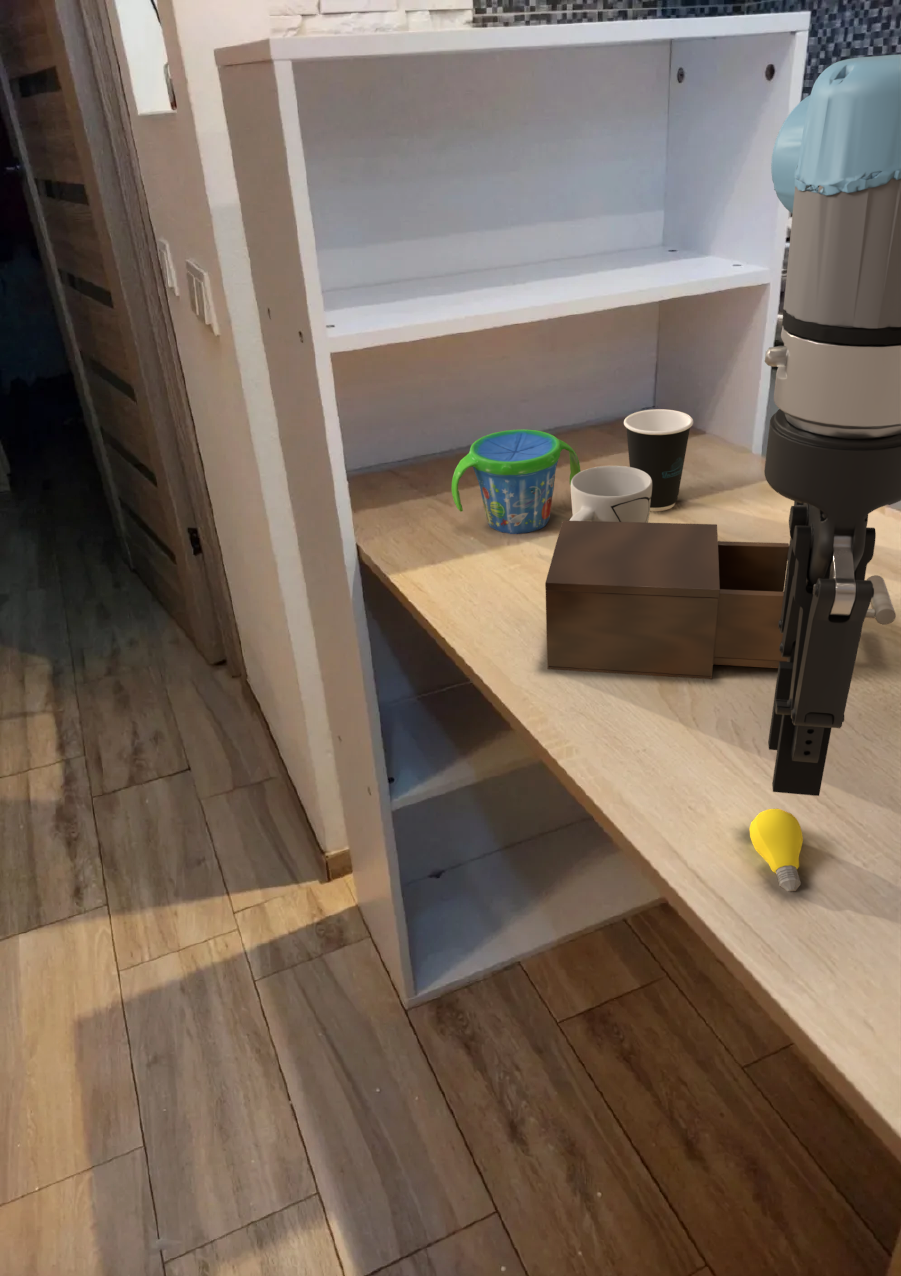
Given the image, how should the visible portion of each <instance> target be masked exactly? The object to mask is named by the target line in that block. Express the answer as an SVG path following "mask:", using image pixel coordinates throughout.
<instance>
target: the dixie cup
mask: <svg viewBox="0 0 901 1276" xmlns="http://www.w3.org/2000/svg"><path fill="white" fill-rule="evenodd" d="M623 425H624V427H625V428H626V438H627V439H626V441H627V452H628V463H629V467H632V468H636V469H639V470H642V471H644V472H645V473H647V474H648V475H649V476H650V477H651V479H652V494H651V503H650V512H662V511H663V512H664V511H666V510H670V509H672V508H673V507H674V506H675V505H676V503H677V501H678V499H679V493H680V487H681V481H682V476H683V470H684V464H685V459H686V453H687V447H688V442H689V436H690V432H691V431H690V430H691V427H692V426H693V425H694V419H693V417H691V416H690V415H689V414H688V413H686V412H683V411H679V410H675V409H674V410H673V409H663V408H662V409H661V408H657V409H656V408H655V409H645V410H639V411H635V412H634V413H631V414H628V415H627V416H626V417H625V419H624V420H623Z"/></svg>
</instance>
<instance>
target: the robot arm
mask: <svg viewBox="0 0 901 1276" xmlns="http://www.w3.org/2000/svg"><path fill="white" fill-rule="evenodd" d="M777 133H778V134H777V136H776V138H775V142H774V145H773V148H772V154H771V163H770V164H771V168H770V169H771V180H772V183H773V190H774V191H775V194H776V197H777V198H778V200H779V201H780V204H782V205H783V207H784V208H785V209H786V210H787V211H788V212H789V213H791V215H792V216H791V227H790V234H789V235H790V237H789V245H788V246H789V247H788V258H787V266H786V278H785V289H784V299H783V307H782V321H781V327H782V328H781V333H780V338H781V341H782V343H783V345H778V346H771V347H768V348H767V349H766V350H765V355H764V363H765V364H766V365H767V366H768V367H772V368H774V367H777V370H776V373H775V383H774V392H773V403H774V404H775V406H776V407H777V408H778V410H777V411H776V412H775V413H774V414H773V415H771V417H770V419H769V427H768V434H767V443H766V453H765V461H764V470H763V471H764V478H765V481H766V483H767V484H768V485H769V487H770V488H771V489H772V490H773V491H775V493H777V494H779V495H780V496H782V497H783V498H786V499H788V500H790V501H793V505H791V506H790V509H789V516H788V529H789V536H790V538H789V550H788V556H787V558H788V561H787V569H786V576H785V584H784V591H783V592H784V595H783V603H782V611H781V619H780V620H779V622H778V628H779V630H780V633H782V634H783V637H782V642H781V644H780V646H779V651H780V652H781V657H785V658H787V662H780V661H779V667H778V668H777V675H776V682H775V690H774V696H773V697H774V698H773V704H772V712H771V718H770V727H769V734H768V741H767V746H768V750H770V751H776V755H775V763H774V770H773V776H772V783H771V786H772V787H771V788H772V792H773V793H778V794H779V793H780V794H790V795H791V794H794V795H802V796H803V795H804V796H814V797H820V793H821V788H822V782H823V777H824V771H825V765H826V759H827V755H828V749H829V744H830V738H831V733H832V729H842V727H843V723H844V722H845V712H846V708H847V707H846V706H847V703H848V698H849V693H850V687H851V683H852V678H853V673H854V670H855V669H854V668H855V665H856V659H857V655H858V651H859V646H860V641H861V636H862V630H863V625H864V621H865V619H866V618H865V616H866V613H867V611H868V609H870V608H869V607H870V605H871V598H873V596H874V588H873V584H872V582H871V580H867V579H866V572H867V566H868V564H869V563H870V562H871V561H872V560H873V557H874V554H875V553H874V552H875V547H876V546H875V545H876V539H877V537H876V536H877V534H876V533H877V532H876V528H875V527H869V526H868V522H869V514H871V513H872V512H874V511H875V510H878V509H880V508H882V507H885V506H891V505H894V504H896V503H899V502H901V53H899V54H885V55H875V56H874V55H873V56H863V57H853V58H847V59H843V60H839V61H837V62H834V63H832V64H831V65H829V66H827V68H825V69H824V70H823V71H822V72H820V74H819V76H818V77H817V78H816V79H815V82H814V83H813V86H812V89H811V91H810V94H809V95H807V96H806V97H805V98H803V99H802V100H801V101H800V102H799V103H798V104H797V105H795V107H793V108H792V110H791V112H789V114H788V115H787V117H786V118H785V120H784V121H783V123H782V125H781V127H780V129H779V131H778V132H777Z"/></svg>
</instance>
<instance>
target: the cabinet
mask: <svg viewBox="0 0 901 1276" xmlns="http://www.w3.org/2000/svg"><path fill="white" fill-rule="evenodd" d="M718 533H719V532H718V524H717V523H681V522H680V523H678V522H648V523H643V522H604V521H569V520H561V524H560V529H559V531H558V535H557V538H556V542H555V547H554V550H553V553H552V557H551V561H550V563H549V567H548V570H547V571H548V572H547V575H546V579H545V583H544V584H545V587H544V588H545V623H546V624H545V626H546V629H545V630H546V665H547V670H551V671H552V670H553V671H555V670H556V671H571V672H587V673H600V674H601V673H602V674H603V673H604V674H620V675H634V676H635V675H636V676H653V677H666V678H668V677H669V678H683V679H684V678H685V679H700V680H701V679H702V680H712V679H713V671H714V670H713V669H714V664H713V660H714V649H715V638H716V627H717V615H718V604H719V594H720V582H719V558H718V541H719V537H718V536H719V535H718Z"/></svg>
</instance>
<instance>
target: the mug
mask: <svg viewBox="0 0 901 1276" xmlns="http://www.w3.org/2000/svg"><path fill="white" fill-rule="evenodd" d="M651 494H652V479H651V477H650V476H649V475H648V474H647V473H645V472H644V471H642V470H639V469H636V468H632V467H630V466H626V465H601V466H600V465H599V466H595V467H594V466H593V467H589V468H587V469H583V470H581V472H579V473H577V474H576V475H575V476H574V477H573V478H572V480H571V486H570V497H571V500H570V501H571V512H572V516H571V517H570V519H569V520H568V521H604V522H643V523H649V519H650V512H651V511H650V503H651Z"/></svg>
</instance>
